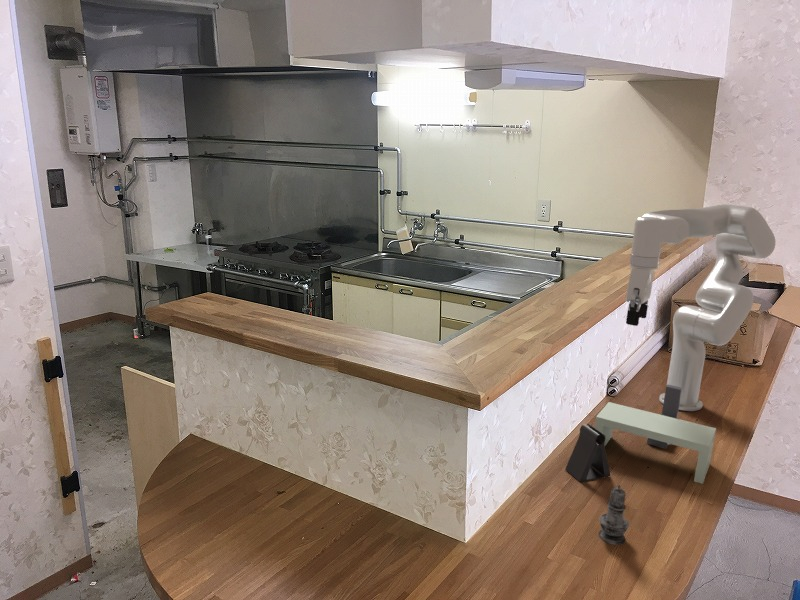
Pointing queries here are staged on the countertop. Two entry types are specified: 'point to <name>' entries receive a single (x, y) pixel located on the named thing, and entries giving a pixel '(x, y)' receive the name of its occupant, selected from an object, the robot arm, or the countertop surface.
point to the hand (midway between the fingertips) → (636, 321)
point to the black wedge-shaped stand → (589, 456)
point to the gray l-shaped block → (669, 409)
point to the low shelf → (659, 431)
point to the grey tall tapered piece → (614, 519)
